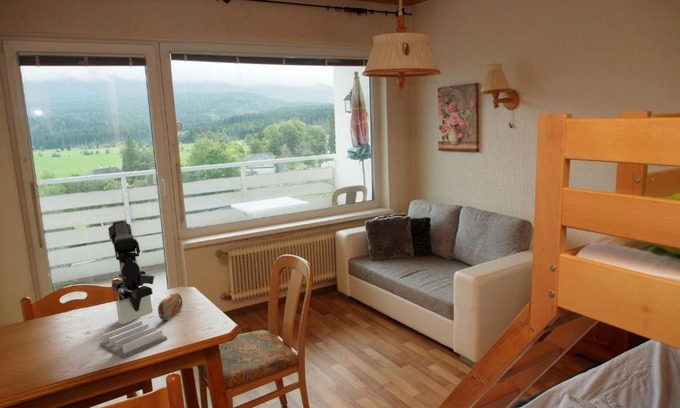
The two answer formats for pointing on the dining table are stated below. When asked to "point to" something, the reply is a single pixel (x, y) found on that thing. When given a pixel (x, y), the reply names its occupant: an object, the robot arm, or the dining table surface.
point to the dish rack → (132, 339)
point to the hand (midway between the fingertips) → (135, 310)
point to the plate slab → (128, 312)
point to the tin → (170, 307)
